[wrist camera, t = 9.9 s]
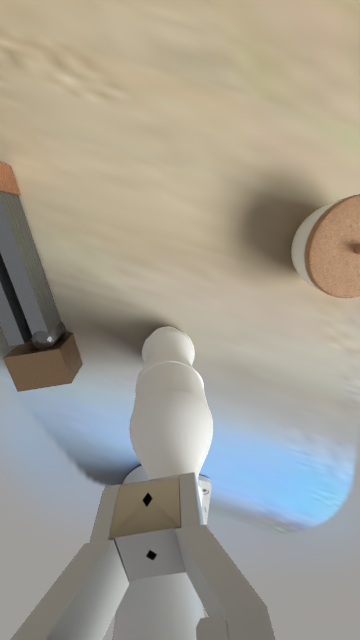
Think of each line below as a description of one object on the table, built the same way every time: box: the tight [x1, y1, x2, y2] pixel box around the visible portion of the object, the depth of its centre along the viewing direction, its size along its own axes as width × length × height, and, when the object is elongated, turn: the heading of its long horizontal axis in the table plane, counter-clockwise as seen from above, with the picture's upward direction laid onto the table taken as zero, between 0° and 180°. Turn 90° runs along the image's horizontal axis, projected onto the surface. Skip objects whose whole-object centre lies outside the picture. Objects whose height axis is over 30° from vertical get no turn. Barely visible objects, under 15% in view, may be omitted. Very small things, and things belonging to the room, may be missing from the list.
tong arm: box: [0, 162, 65, 350], centre depth 30 cm, size 21×3×4 cm, turn 9°
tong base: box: [0, 253, 83, 392], centre depth 31 cm, size 26×7×5 cm, turn 8°
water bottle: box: [130, 326, 213, 507], centre depth 26 cm, size 7×7×25 cm
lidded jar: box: [291, 194, 360, 298], centre depth 30 cm, size 11×11×9 cm
